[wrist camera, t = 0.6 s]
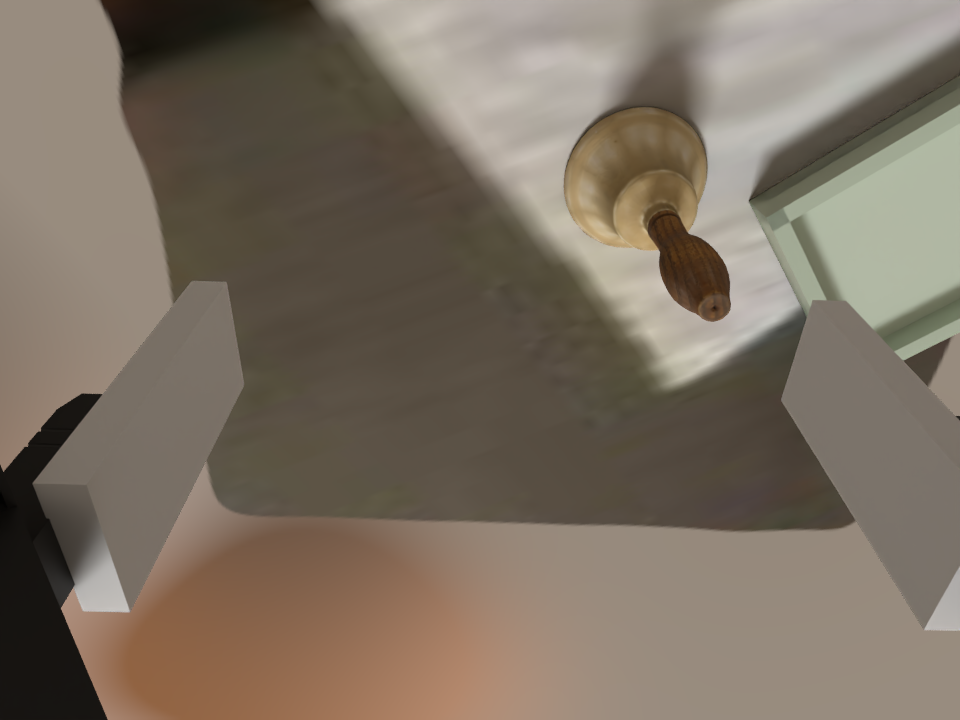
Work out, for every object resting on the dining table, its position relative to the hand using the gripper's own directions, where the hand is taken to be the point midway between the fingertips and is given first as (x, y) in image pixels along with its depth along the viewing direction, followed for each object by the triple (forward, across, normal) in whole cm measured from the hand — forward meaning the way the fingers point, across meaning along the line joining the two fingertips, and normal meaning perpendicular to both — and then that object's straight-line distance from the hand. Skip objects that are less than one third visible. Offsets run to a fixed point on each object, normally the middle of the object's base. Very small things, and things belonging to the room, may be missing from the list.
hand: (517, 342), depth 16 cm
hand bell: (+27, +8, -4) cm, 29 cm away
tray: (+27, +26, -6) cm, 38 cm away
